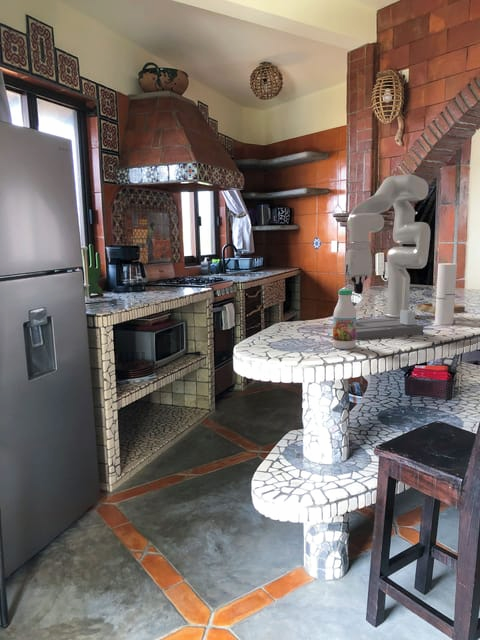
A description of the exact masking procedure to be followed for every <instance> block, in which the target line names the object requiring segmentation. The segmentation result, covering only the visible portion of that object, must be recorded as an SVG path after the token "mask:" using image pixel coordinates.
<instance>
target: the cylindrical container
mask: <svg viewBox="0 0 480 640" xmlns="http://www.w3.org/2000/svg"><path fill="white" fill-rule="evenodd" d="M457 267H458V263H454V262H453V263H448V262H446V263H444V262H443V263H442V262H441V263H437V280H436V296H435V297H436V299H435V301H436V311H435V313H434V314H435V315H434V324H436V325H441V326H449V325H451V326H452V325H453V324H454V320H455V319H454V316H455V313H454V305H456V304H455V302H456V285H457V271H458V270H457V269H458V268H457Z"/></svg>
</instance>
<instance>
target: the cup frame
mask: <svg viewBox="0 0 480 640" xmlns="http://www.w3.org/2000/svg"><path fill="white" fill-rule="evenodd" d="M465 309H466V308H465V306H463V305H460V304H454V314H455V313H465ZM417 310H420V311H424V312H428V313H433V314H435V311H436V308H435V307H433V306H432V302H428V303H417Z"/></svg>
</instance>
